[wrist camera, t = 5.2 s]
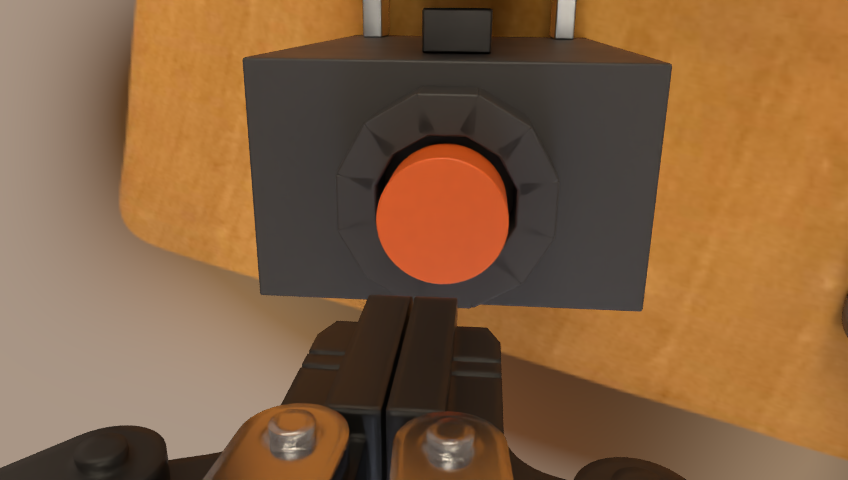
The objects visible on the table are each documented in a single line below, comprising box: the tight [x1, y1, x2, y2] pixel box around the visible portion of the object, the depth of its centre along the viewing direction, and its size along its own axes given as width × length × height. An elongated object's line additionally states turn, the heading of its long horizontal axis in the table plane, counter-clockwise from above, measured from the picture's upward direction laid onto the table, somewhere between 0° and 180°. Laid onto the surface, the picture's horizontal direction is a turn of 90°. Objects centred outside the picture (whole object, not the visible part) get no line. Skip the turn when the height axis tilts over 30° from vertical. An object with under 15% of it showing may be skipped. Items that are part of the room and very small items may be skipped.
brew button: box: [376, 143, 509, 284], centre depth 19 cm, size 4×4×2 cm
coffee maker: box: [243, 35, 672, 311], centre depth 30 cm, size 8×13×21 cm, turn 89°
